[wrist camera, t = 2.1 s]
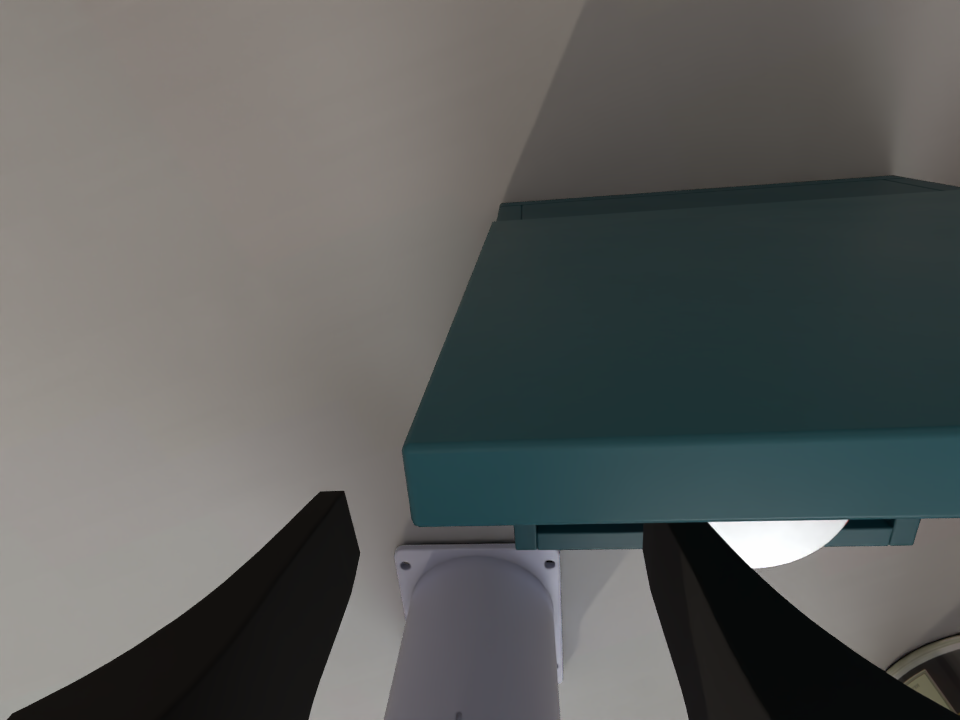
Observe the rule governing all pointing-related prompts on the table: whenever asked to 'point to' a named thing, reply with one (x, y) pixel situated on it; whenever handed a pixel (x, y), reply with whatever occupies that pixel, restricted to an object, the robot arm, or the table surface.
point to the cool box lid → (701, 369)
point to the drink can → (777, 539)
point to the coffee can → (933, 672)
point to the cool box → (632, 533)
